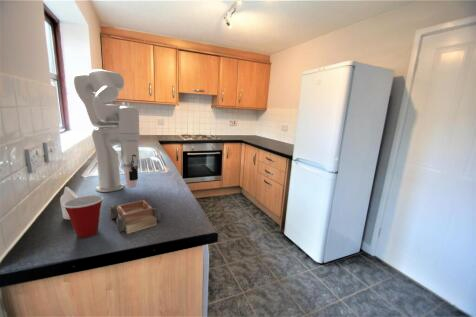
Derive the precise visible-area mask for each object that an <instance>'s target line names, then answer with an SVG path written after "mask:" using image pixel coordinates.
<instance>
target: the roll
mask: <svg viewBox="0 0 476 317" xmlns="http://www.w3.org/2000/svg"><path fill="white" fill-rule="evenodd" d="M78 197H79V196H78V195H77V194H76V192H74V191H73V190H72V189H71V188H70V187H69V186H65V187H64V191H63V193H62V195H61V197H60V198H59V201H60V202H59V203H60V207H61V213H62V218H63V219H64V220H70V217H69V214H68V213H67V210H66V208H65V207H64V206H63V203H64V202H66V201H68V200H71V199H74V198H78Z"/></svg>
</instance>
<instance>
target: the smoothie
mask: <svg viewBox="0 0 476 317" xmlns="http://www.w3.org/2000/svg"><path fill="white" fill-rule="evenodd" d="M131 164H133V163H131ZM132 167H133V166H132ZM137 168H138V169H139V168H140V165H139V164H138V167H137ZM122 170H123V172H124V179H125V183H126V187H127V188H129V189H132V188H136V187H137V182H138V180H133V181H130V179H129V171H130V167H129V165H126V164H124V163H123V164H122Z"/></svg>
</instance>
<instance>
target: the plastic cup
mask: <svg viewBox="0 0 476 317" xmlns="http://www.w3.org/2000/svg"><path fill="white" fill-rule="evenodd" d="M103 200H104V196H102V195H98V194H97V195H96V194H95V195H85V196H78V198H74V199H71V200H68V201H66V202H64V203H63V206H64V207H65V208H66V210H67V213H68V214H69V217H70V219H69V220H70V223H71V225H72V227H73V229H74V233H75V235H76V237H78V238H80V239H86V238H90V237H93V236H95V235H96V234H97V233H98V231H99V223H100V215H101V208H102V203H103Z"/></svg>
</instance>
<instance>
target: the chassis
mask: <svg viewBox="0 0 476 317" xmlns="http://www.w3.org/2000/svg"><path fill="white" fill-rule="evenodd" d="M109 215H110V219H111V220H113V219H116V226H117V230H118V232H119V233H121V232H124V231H125V233H126V235H129V234H132V233H135V232H139V231H141V230H144V229H147V228H148V229H149V228H151V227H155V226H157V225H158V223H157V222H158V221H160V220H161V212H160V209H159V208H158V207H155V208H153V207H152V206H151V205H150V200H149V199H148V198H143V199H141V200H137V201H132V202H129V203H122V204H118V205H116V204H115V205H111V206H109Z"/></svg>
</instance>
